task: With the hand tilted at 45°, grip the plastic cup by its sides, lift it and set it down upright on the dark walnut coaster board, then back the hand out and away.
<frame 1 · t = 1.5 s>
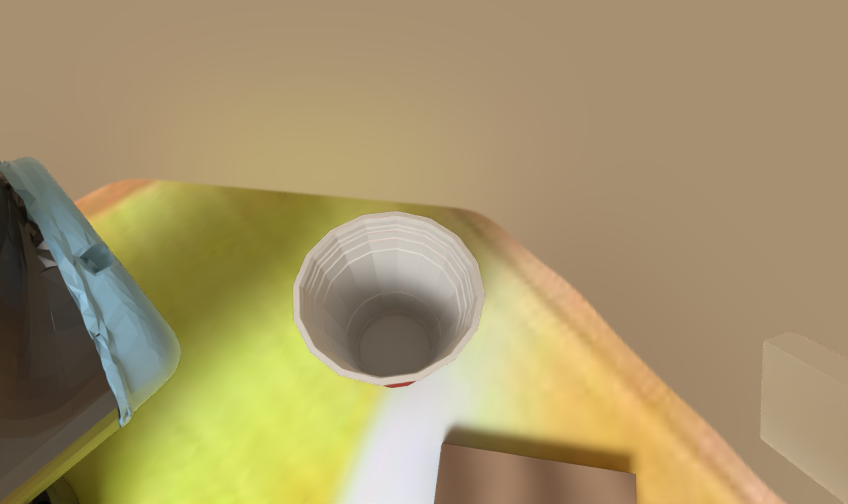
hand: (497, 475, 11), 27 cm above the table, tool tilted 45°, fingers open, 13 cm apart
plastic cup: (394, 347, 40), on the table
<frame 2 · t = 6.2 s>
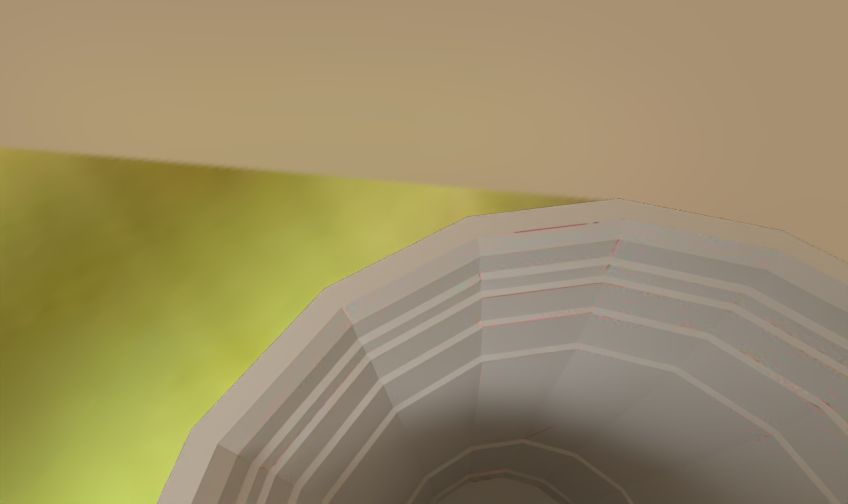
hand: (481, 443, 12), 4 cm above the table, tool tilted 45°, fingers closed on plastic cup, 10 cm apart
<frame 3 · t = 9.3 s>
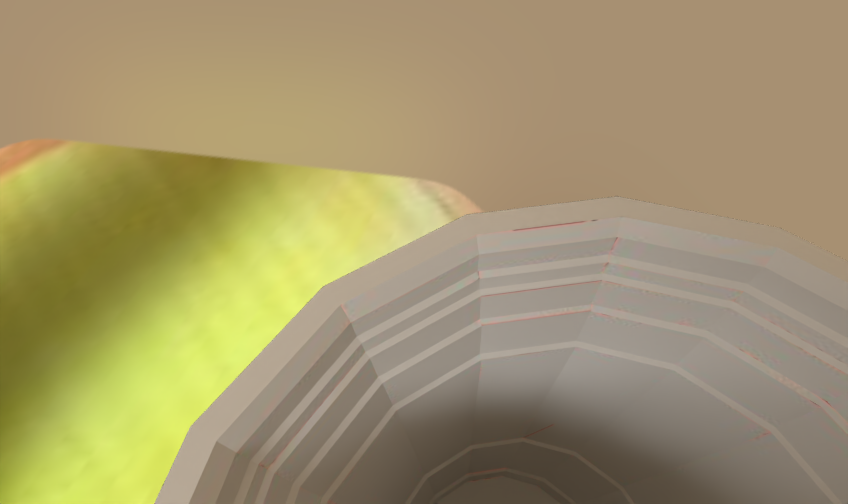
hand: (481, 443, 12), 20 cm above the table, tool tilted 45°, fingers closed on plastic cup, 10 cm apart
when the fingers open (7 cm above the table, at t = 12.3 s): plastic cup moves 1 cm, point 2 cm above the table.
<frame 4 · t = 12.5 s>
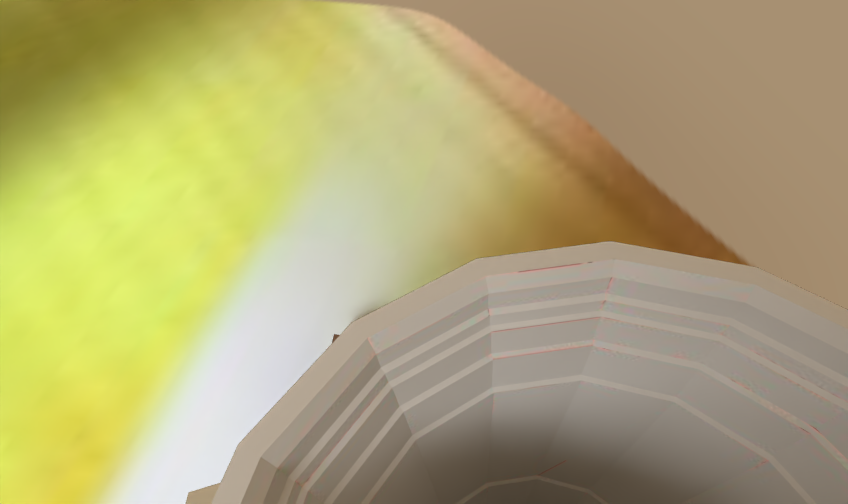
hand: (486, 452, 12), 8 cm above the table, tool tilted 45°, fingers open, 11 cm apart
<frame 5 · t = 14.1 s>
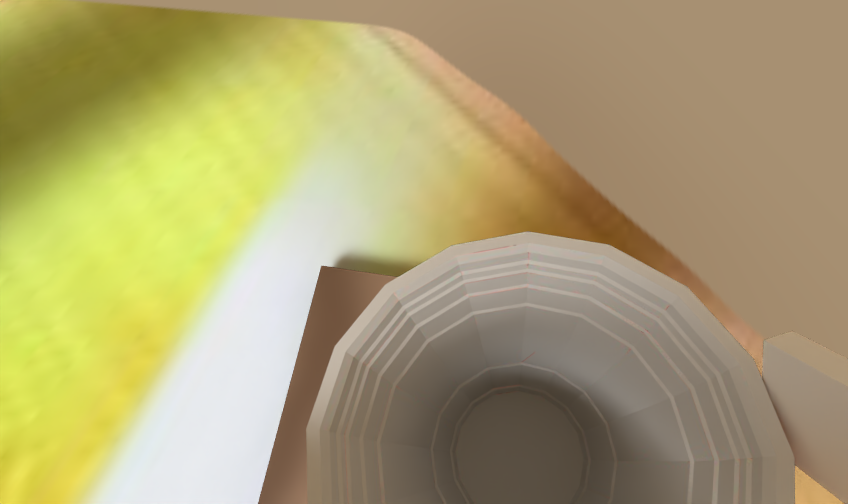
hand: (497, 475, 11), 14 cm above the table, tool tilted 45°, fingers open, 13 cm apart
plastic cup: (516, 450, 23), point 2 cm above the table, touching walnut coaster board
walnut coaster board: (426, 420, 25), on the table
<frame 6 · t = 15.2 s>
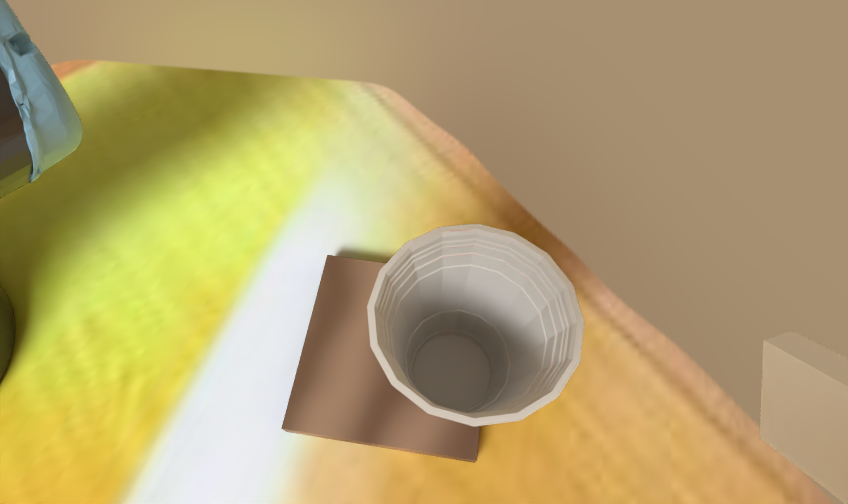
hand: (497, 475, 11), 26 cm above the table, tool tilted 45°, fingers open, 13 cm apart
plastic cup: (450, 370, 37), point 1 cm above the table, touching walnut coaster board
walnut coaster board: (396, 354, 39), on the table
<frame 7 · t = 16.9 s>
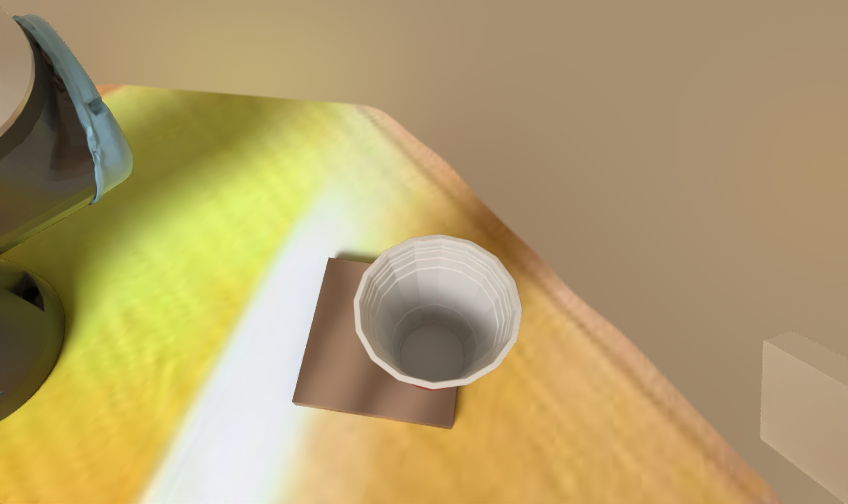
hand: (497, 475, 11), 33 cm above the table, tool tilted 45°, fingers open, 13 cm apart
plastic cup: (431, 354, 44), point 1 cm above the table, touching walnut coaster board
walnut coaster board: (386, 341, 46), on the table
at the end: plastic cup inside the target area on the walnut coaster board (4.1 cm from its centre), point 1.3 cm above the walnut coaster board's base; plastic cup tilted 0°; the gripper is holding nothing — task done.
